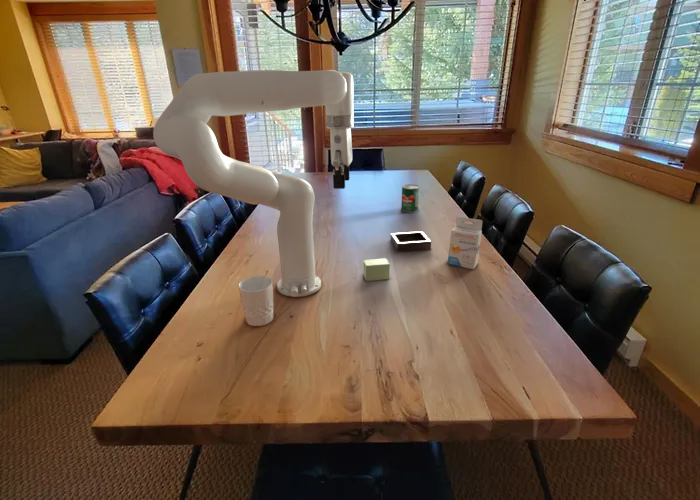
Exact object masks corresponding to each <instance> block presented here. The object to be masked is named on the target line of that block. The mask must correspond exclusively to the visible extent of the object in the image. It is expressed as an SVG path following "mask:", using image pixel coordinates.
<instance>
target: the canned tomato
mask: <svg viewBox="0 0 700 500" xmlns="http://www.w3.org/2000/svg"><path fill="white" fill-rule="evenodd" d="M419 204H420V185H417V184H403V185H402V186H401V207H400V210H401V211H402V212H405V213H417V212H418V211H419Z"/></svg>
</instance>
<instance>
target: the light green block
mask: <svg viewBox="0 0 700 500" xmlns="http://www.w3.org/2000/svg"><path fill="white" fill-rule="evenodd" d="M390 267H391V265H390V262H389V260H388V259H387V258H376V259H373V258H372V259H363V277H364V279H365V281H366V282H368V281H369V282H370V281H371V282H372V281H381V280H383V281H384V280H390Z"/></svg>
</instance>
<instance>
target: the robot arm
mask: <svg viewBox="0 0 700 500" xmlns="http://www.w3.org/2000/svg"><path fill="white" fill-rule="evenodd" d="M322 106H324V107H325V124H326V125H325V126H326V129H327V130H330V131H329V134H330V135H329V138H330V143H329V144H330V160H331V161H330V163H331V165H332V166H333V170H332V184H333V185H332V187H333V189H334V190H337V189H339V190H344V189H345V188H346V181H350V165H351V163H352V162H353V145H352V144H353V141H352V139H353V138H352V130H351V129H354V127H355V116H354V114H355V113H354V112H355V111H354V108H355V107H354V77H353V74H351V72H350V71H349V72H348V71H338V70H336V69H323V70H280V69H279V70H278V69H264V70H238V71H237V70H236V71H235V70H234V71H214V72H202V73H196V74H194V75H192V76H191V77H189V79H187V80H186V82H185V83H184V84H183V85H182V86H181V87H180V89H179V91H177V93H176V94H175V95H174V97H173V98H172V100H171V101H170V103H169V104H168V105H167V107H165V109H164V110H163V111H162V113H161V114H160V116H159V117H158V119H157V120H156V122H155V124H154V127H153V130H152V131H153V132H152V135H153V136H152V137H153V140H154V143H155V145H156V147H157V148H158V149H159V150H160V151H161V152H162V153H164V154H166V155H167V156H170V157H173V158H177V159H179V160H181V163H182V165H183V168H184V170H185V172H186V174H187V176H188V178H190V180H191V181H192V183H194V185H196V187H198V188H200V189H201V190H204V191H206V192H209V193H212V194H216V195H218V196H219V195H220V196H223V197H226V198H230V199H234V200H237V201H240V202H242V203H246V204H249V205H261V206H266V207H268V208H271V209H274V210H277V211H279V218H278V220H277V225H276V235H277V243H278V244H277V245H278V252H279V262H280V273H281V278H280V279H279V280H278V281H277V283H276V289H277V291H278V292H279V293H280V294H281V295H284V296H287V297H291V298H301V297H306V296H310V295H312V294H314V293H316V292H318V291H319V290H320V289H321V287H322V279H321V278H320V277H319V276H318V275H316V263H315V261H316V259H315V248H314V247H315V246H314V229H313V228H314V227H313V214H314V208H315V207H314V206H315V199H316V198H315V191H314V189H313V186H312V185H311V184H310V182H307V180H304V179H303V178H301V177H297V176H294V175H289V174H283V173H279V172H276V171H272V170H268V169H266V168H264V167H263V166H261V165H258V164H254V163H250V162H246V161H241V160H238V159H235V158H233V157H230V156H227V155H225V154H223V151H222V150H221V149H220V147H219V144H218V143H219V142H218V141H217V137H216V135H215V133H214V131H213V130H212V129H211V127H210V126H209V125H208V122H209V121H210V119H211V117H231V116H240V115H246V114H247V115H248V114H254V113H255V114H256V113H269V112H278V111H287V110H294V109H300V108H312V107H313V108H314V107H322Z"/></svg>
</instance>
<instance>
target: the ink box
mask: <svg viewBox="0 0 700 500" xmlns="http://www.w3.org/2000/svg"><path fill="white" fill-rule="evenodd" d="M467 222H469V223H467ZM483 223H484V222H483V220H482V219H476V218H470V217H463V216H456V217H455V225H454V227H453V228H452V229H451V230H450V239H449V248H448V257H447V264H448V265H452V266H455V267H461V268H464V269H470V270H475V268H476V267H477V265H478V261H479V254H480V247H481V239H482V233H483V230H482V229H483Z"/></svg>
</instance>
